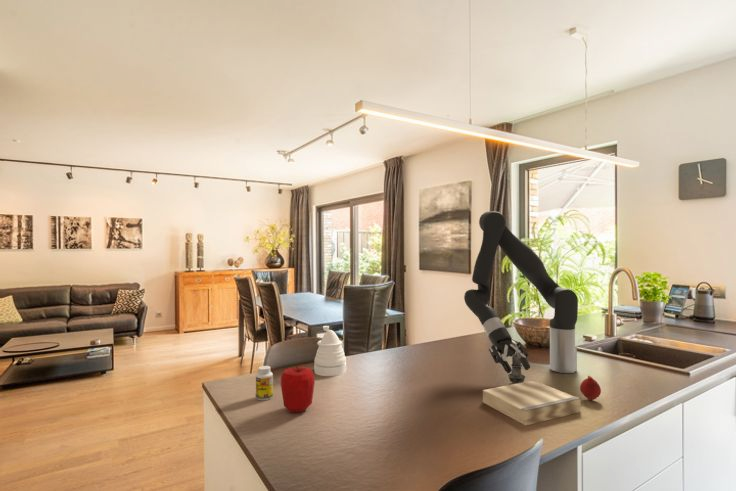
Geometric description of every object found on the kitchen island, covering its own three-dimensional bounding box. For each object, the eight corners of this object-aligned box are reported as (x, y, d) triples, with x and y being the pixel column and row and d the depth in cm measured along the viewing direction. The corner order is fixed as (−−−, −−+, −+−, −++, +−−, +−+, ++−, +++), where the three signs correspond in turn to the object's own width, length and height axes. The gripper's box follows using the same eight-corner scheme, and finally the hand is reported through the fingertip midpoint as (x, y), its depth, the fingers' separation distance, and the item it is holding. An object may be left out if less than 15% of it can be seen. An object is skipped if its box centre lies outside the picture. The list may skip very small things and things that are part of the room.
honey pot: (308, 374, 157) (308, 328, 157) (323, 364, 169) (323, 322, 169) (337, 377, 152) (337, 331, 152) (351, 368, 164) (351, 324, 164)
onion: (598, 398, 130) (598, 374, 130) (602, 404, 125) (602, 379, 125) (578, 396, 132) (578, 372, 132) (582, 402, 127) (581, 377, 127)
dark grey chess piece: (526, 389, 139) (526, 355, 139) (509, 388, 140) (509, 354, 140) (523, 383, 145) (523, 350, 145) (506, 382, 146) (506, 350, 146)
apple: (298, 419, 115) (298, 373, 115) (273, 412, 121) (273, 367, 121) (321, 407, 124) (321, 364, 124) (297, 400, 130) (296, 359, 130)
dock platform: (533, 391, 136) (533, 379, 136) (580, 412, 120) (580, 398, 120) (482, 402, 127) (482, 389, 127) (525, 425, 111) (525, 410, 111)
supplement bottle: (252, 400, 130) (252, 369, 130) (261, 394, 136) (261, 364, 136) (267, 402, 129) (267, 370, 129) (276, 395, 134) (276, 365, 134)
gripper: (486, 328, 146) (509, 367, 136) (516, 324, 152) (539, 362, 141) (477, 339, 151) (498, 378, 141) (506, 335, 157) (528, 373, 146)
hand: (519, 370), depth 141 cm, fingers open, 8 cm apart
